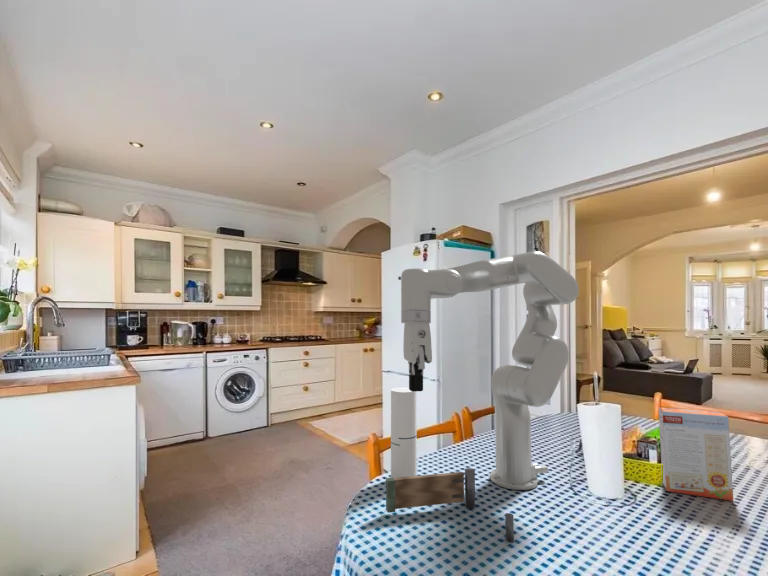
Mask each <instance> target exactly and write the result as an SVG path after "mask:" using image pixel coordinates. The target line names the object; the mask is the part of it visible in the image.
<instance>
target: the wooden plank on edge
mask: <svg viewBox="0 0 768 576" xmlns="http://www.w3.org/2000/svg"><path fill="white" fill-rule="evenodd" d="M385 478H386V479H385V510H386V512H387V513H388V514H389V513H390V514H391V513H396V510H397V509H398V510H399V509H408V508H418V507H425V506H426V507H428V506H436V505H444V504H445V505H446V504H455V503H465V473H464V472H463V471H457V472H445V473H435V474H423V475H417V476H409V477H398V478H394V477H392V478H391V477H385Z"/></svg>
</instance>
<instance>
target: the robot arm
mask: <svg viewBox="0 0 768 576" xmlns="http://www.w3.org/2000/svg"><path fill="white" fill-rule="evenodd" d="M400 284H401V285H400V294H401V295H400V296H401V297H400V301H401V302H400V309H401V310H400V313H401V314H400V321H401V322H400V323H401V324H403V325H404V327H403V359H404V360H406V361H407V364H408V388H409V390H410V391H412V392H413V391H416V392H423V391H424V371H425V369H426V364H431V363H432V361H433V353H432V352H433V351H432V349H433V348H432V347H433V346H432V334H431V326H430V324H431V323H432V319H431V318H432V317H431V316H432V315H431V314H432V313H431V310H432V308H431V307H432V306H431V301H432V300H434V299H449V298H453V297H455V296H457V295H458V294H462V293H477V292H478V293H479V292H485V291H486V292H488V291H491V290H492V291H493V290H496V289H500V288H501V289H502V288H507V287H510V286H514V285H519V284H524V285H523V288H522V295H523V299H524V301H525V304H526V307H527V312H528V314H527V319H526V321H525V323H524V325H523V326H522V329H521V331H520V333H519V334H518V336H517V339H516V340H515V342H514V345H513V346H512V349H511V357H512V359H513V360H514V361H515V363H516V364H518V365H520V366H518V365H511V364H507V365H500V366H499V367H497V368H495V370H494V371H493V373H492V376H491V378H490V379H491V380H490V387H491V392H492V397H493V403H494V420H495V421H494V431H495V435H494V436H495V438H494V440H495V443H494V445H495V469H493V470H492V471H491V472H490V473H489V475H490V476H489V477H490V480H491V482H493V484H496V485H497V486H499V487H502V488H504V489H508V490H516V491H527V490H528V491H529V490H532V489H534V488H536V487H537V486H538V485H539V479H538V477H537V476H538V475H539V474H548V473H549V472H548V471H549V468H548V466H547V465H538V463H533V462H532V430H531V429H532V427H531V426H532V419H531V418H532V417H531V413H530V412H531V411H530V409H529V406H530V407H532V408H533V407H534V408H540V407H543V406H545V405H546V404H547V403H548V402H549V401H550V400H551V399H552V397H553V395H554V393H555V390H556V389H557V387H558V385H559V383H560V381H561V378H562V376H563V374H564V373H565V370H566V368H567V365H568V362H569V348H568V345H567V343H566V342H565V341H564V340H563V339H562V338H560V337H558V336H556V335H555V333H556V331H557V328H558V318H557V317H556V313H555V311H554V309H553V307H552V306H557V305H558V306H559V305H562V306H563V305H569V304H570V303H573V302H574V301H575V300H576V299H577V297H578V296H579V291H580V289H579V284H578V282H577V280H576V278H574V276H573V275H572V274H571V273H570V272H568V271H567V270H566V269H565V268H564V267H563V266H561V265H560V264H558V262H556V260H554V259H553V258H551V257H550V256H548V255H547V254H545V253H543V252H541V251H536V250H535V251H534V250H533V251H528V252H523V253H518V254H512V255H511V254H510V255H507V256H501V257H500V256H499V257H493V258H488V259H481V260H478V261H473V262H470V263H467V264H463V265H459V266H456V267H455V266H454V267H450V268H441V269H440V268H439V269H426V268H407V269H404V270H403V271H402V273H401V277H400ZM425 363H426V364H425ZM522 366H523V367H522Z"/></svg>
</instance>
